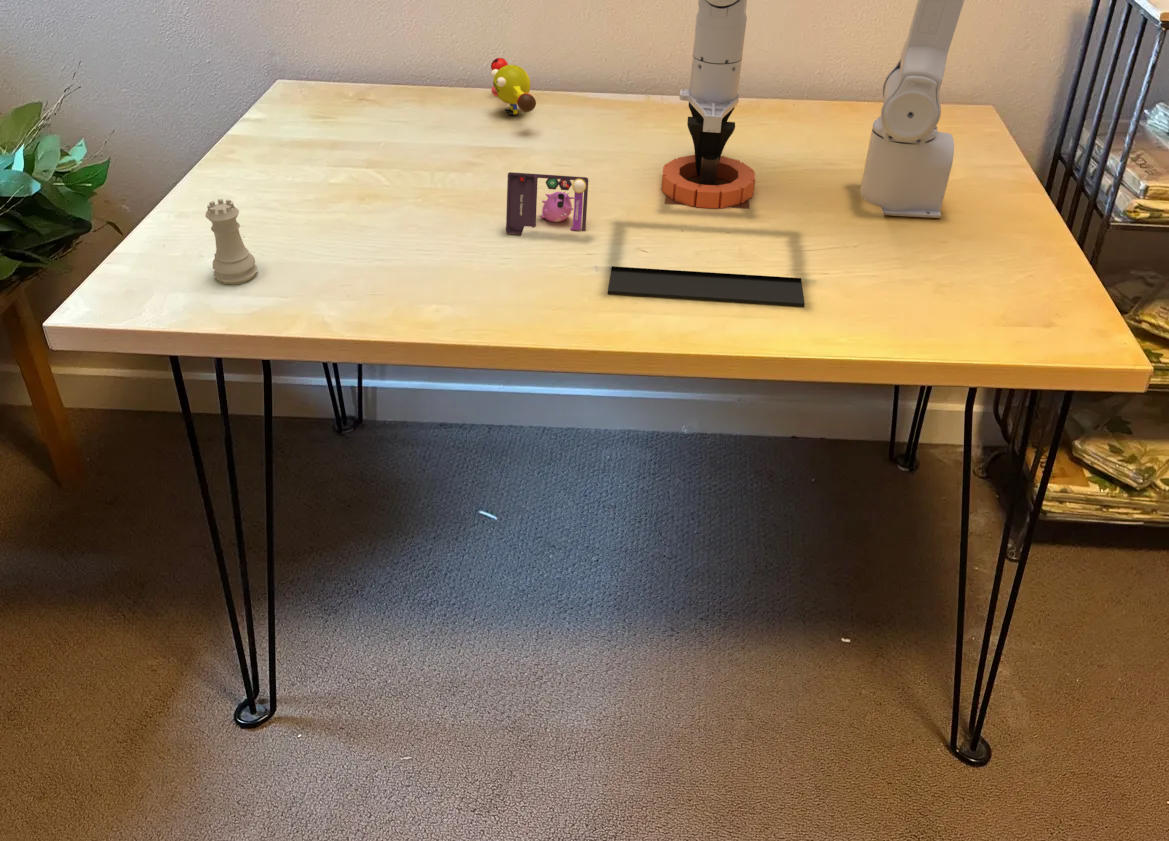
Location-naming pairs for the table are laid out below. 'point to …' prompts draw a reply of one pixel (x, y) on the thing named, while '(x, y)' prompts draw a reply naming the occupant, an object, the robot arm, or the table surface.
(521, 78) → the toy figure
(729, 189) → the ring
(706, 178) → the stand
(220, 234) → the rook chess piece
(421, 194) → the table surface
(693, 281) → the tray
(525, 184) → the game card
